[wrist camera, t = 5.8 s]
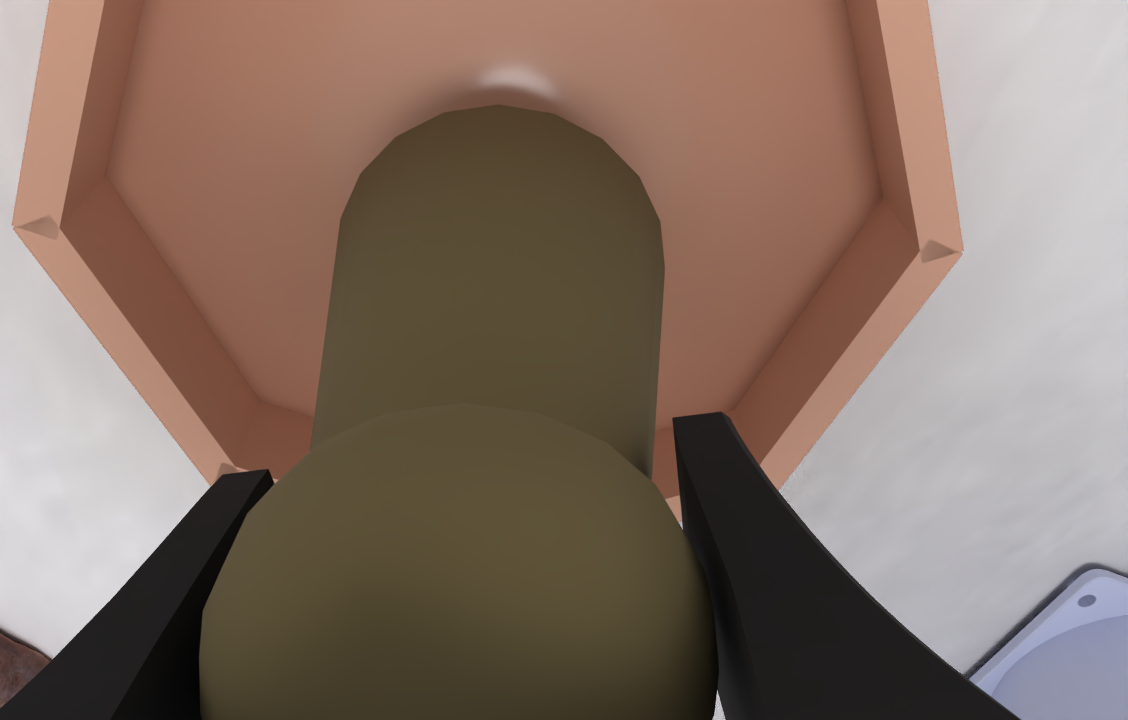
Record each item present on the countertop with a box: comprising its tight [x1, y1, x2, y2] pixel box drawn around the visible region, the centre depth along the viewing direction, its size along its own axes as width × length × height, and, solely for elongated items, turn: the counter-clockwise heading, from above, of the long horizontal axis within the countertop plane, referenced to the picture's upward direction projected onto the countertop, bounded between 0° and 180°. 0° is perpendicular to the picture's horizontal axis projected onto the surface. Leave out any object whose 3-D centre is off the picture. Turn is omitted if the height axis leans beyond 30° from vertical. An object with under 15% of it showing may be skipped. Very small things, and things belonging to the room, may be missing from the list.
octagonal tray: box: [12, 0, 964, 522], centre depth 20 cm, size 17×17×3 cm
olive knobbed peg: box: [199, 104, 719, 720], centre depth 13 cm, size 6×6×11 cm
